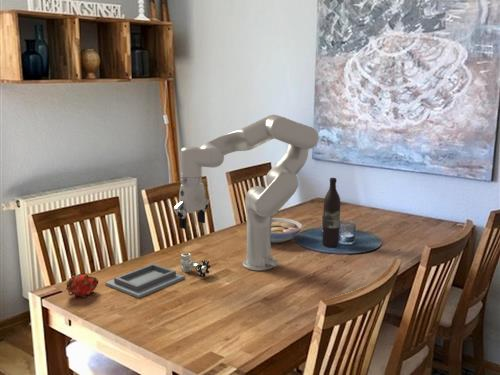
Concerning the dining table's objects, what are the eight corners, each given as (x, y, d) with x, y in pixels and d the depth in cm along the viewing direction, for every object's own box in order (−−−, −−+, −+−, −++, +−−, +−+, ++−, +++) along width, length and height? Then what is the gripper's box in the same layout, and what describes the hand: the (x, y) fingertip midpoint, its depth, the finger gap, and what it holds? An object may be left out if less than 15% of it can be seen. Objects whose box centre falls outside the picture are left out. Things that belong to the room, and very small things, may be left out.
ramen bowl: (294, 252, 229) (294, 234, 228) (243, 246, 237) (243, 228, 235) (307, 235, 252) (308, 218, 251) (260, 230, 260) (260, 213, 258)
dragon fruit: (63, 304, 183) (96, 299, 192) (73, 296, 178) (107, 291, 186) (58, 280, 186) (91, 276, 194) (68, 271, 181) (101, 267, 189)
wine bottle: (320, 246, 237) (322, 179, 230) (324, 241, 243) (327, 176, 237) (336, 248, 234) (339, 180, 228) (340, 243, 241) (343, 177, 234)
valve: (176, 271, 208) (198, 279, 201) (175, 255, 207) (198, 262, 199) (188, 266, 213) (210, 274, 206) (188, 250, 212) (210, 258, 204)
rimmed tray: (184, 278, 201) (184, 271, 201) (138, 298, 185) (138, 290, 184) (151, 267, 212) (151, 260, 212) (105, 284, 195) (105, 277, 195)
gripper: (181, 186, 191) (182, 232, 195) (215, 178, 204) (215, 222, 208) (166, 182, 195) (168, 228, 199) (200, 175, 208) (201, 218, 212)
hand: (192, 225), depth 203 cm, fingers open, 9 cm apart
